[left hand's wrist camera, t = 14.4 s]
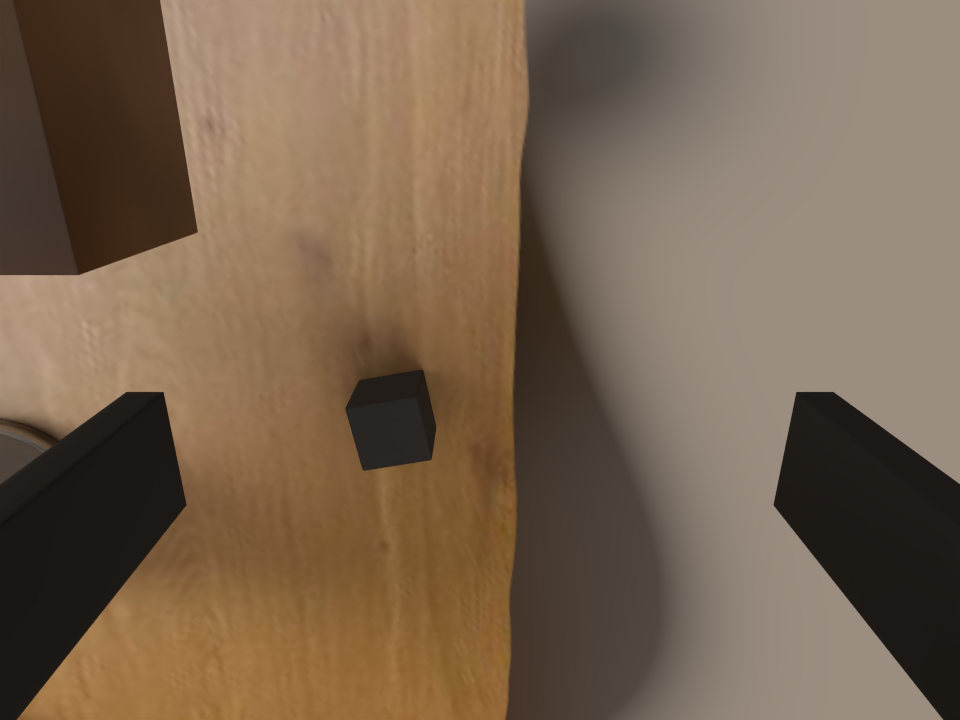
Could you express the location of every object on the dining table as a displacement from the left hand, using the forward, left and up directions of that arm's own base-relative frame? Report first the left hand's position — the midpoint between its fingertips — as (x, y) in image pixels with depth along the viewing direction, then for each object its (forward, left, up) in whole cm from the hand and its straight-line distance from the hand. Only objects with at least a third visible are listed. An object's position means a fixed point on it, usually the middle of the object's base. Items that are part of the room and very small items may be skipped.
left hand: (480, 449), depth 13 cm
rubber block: (-14, +4, -31) cm, 34 cm away
